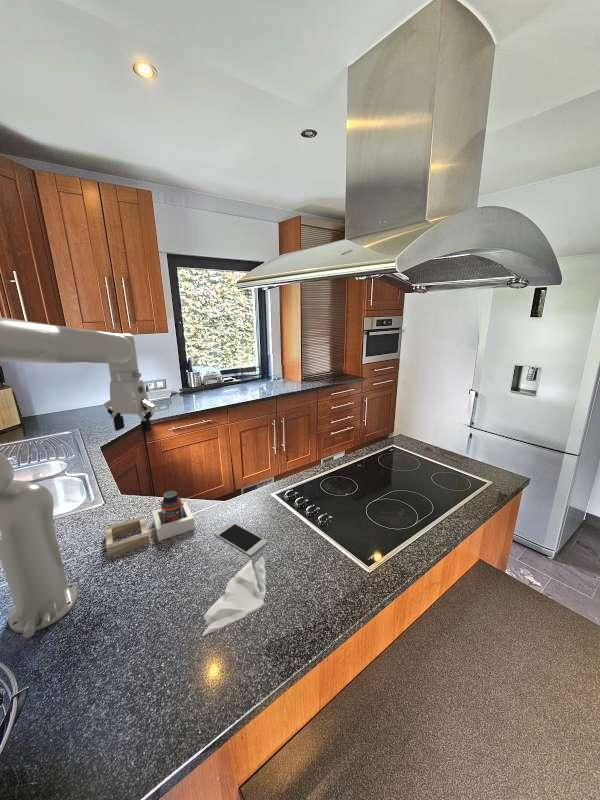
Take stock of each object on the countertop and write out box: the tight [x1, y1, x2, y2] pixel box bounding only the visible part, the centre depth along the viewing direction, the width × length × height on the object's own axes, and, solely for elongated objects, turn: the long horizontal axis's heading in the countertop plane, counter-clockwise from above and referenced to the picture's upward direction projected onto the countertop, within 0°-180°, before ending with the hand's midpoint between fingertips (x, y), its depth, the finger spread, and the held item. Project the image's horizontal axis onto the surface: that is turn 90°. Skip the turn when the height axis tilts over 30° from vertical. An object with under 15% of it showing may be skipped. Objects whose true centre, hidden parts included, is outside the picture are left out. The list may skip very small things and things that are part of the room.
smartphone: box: [214, 522, 268, 557], centre depth 97 cm, size 7×16×1 cm, turn 53°
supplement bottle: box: [160, 490, 184, 525], centre depth 102 cm, size 6×6×11 cm
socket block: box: [151, 500, 196, 542], centre depth 103 cm, size 11×11×5 cm
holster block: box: [105, 515, 151, 558], centre depth 96 cm, size 11×11×3 cm
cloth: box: [201, 553, 267, 637], centre depth 78 cm, size 26×14×2 cm, turn 144°
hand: (133, 430), depth 100 cm, fingers open, 9 cm apart
